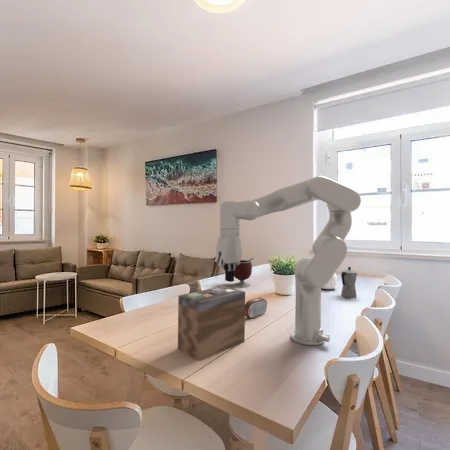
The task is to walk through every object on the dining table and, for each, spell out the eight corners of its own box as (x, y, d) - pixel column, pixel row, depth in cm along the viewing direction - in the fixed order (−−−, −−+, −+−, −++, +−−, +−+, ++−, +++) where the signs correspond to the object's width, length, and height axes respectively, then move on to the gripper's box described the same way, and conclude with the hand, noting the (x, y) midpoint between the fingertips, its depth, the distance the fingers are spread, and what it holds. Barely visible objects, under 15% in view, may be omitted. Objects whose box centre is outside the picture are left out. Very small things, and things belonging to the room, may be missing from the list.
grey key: (225, 296, 109) (225, 289, 109) (218, 297, 106) (218, 291, 106) (218, 294, 111) (218, 287, 111) (211, 295, 109) (211, 289, 109)
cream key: (235, 296, 113) (235, 290, 113) (228, 298, 110) (228, 292, 110) (228, 294, 115) (228, 288, 115) (221, 296, 113) (221, 290, 113)
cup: (319, 285, 210) (320, 266, 210) (339, 288, 202) (339, 268, 202) (313, 288, 199) (314, 269, 199) (333, 291, 192) (333, 271, 192)
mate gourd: (229, 286, 202) (230, 257, 202) (234, 282, 215) (235, 255, 215) (251, 288, 198) (252, 259, 197) (255, 284, 211) (256, 256, 211)
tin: (262, 312, 146) (263, 295, 146) (267, 313, 144) (268, 296, 144) (242, 319, 136) (243, 301, 136) (247, 320, 134) (248, 302, 134)
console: (244, 341, 110) (245, 291, 110) (199, 360, 95) (200, 302, 95) (222, 332, 119) (223, 286, 119) (177, 348, 104) (178, 295, 103)
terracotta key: (214, 302, 105) (214, 295, 105) (206, 304, 102) (206, 297, 102) (207, 299, 108) (207, 293, 108) (199, 301, 105) (199, 295, 105)
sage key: (202, 301, 101) (202, 294, 101) (194, 303, 98) (194, 296, 98) (195, 299, 104) (196, 292, 104) (187, 301, 101) (187, 294, 101)
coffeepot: (346, 292, 189) (347, 265, 189) (361, 295, 182) (362, 267, 181) (334, 296, 179) (334, 267, 179) (348, 299, 172) (349, 269, 172)
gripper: (236, 232, 120) (235, 277, 120) (208, 233, 110) (208, 282, 110) (249, 233, 115) (249, 279, 115) (222, 234, 104) (222, 285, 105)
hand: (229, 280), depth 112 cm, fingers closed
